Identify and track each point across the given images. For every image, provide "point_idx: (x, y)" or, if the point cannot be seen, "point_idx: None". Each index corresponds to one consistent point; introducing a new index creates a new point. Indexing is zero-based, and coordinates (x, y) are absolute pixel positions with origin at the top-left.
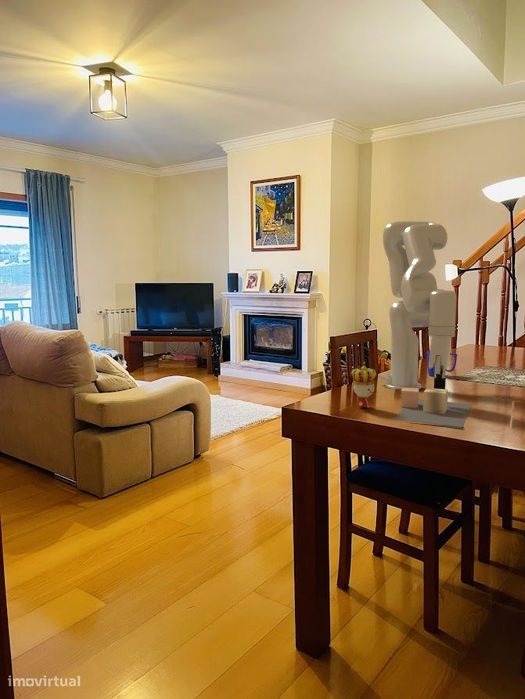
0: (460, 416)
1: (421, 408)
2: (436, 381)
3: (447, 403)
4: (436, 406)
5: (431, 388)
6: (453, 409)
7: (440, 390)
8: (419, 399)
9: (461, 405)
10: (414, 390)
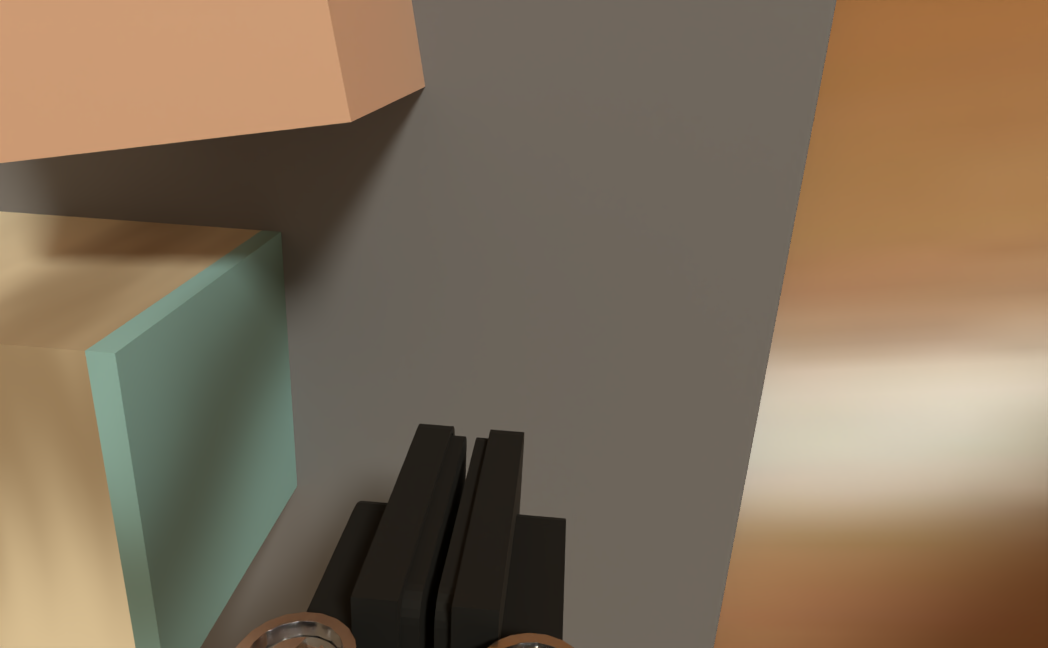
0: None
1: (166, 170)
2: (318, 596)
3: (261, 534)
4: None
5: (97, 440)
6: (324, 547)
7: (6, 594)
8: (804, 64)
9: (582, 624)
10: (62, 54)
